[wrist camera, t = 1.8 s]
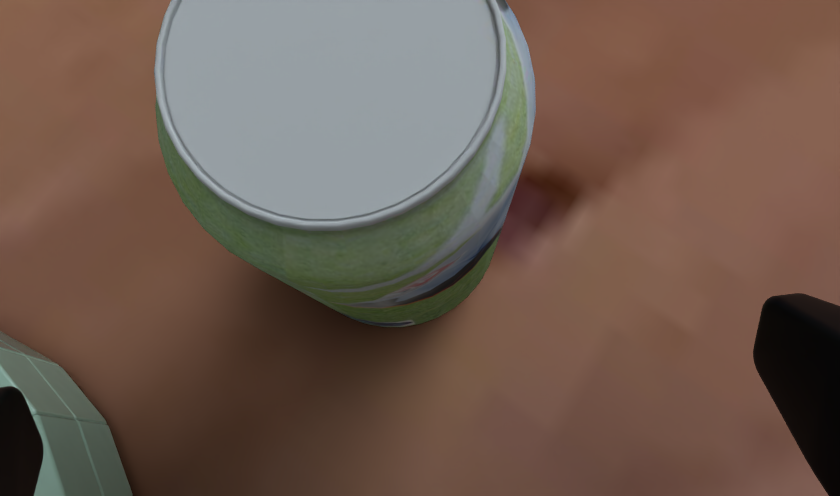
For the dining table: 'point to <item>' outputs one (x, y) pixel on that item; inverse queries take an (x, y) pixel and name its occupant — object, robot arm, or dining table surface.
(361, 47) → the beverage can
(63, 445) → the bowl
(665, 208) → the dining table surface
